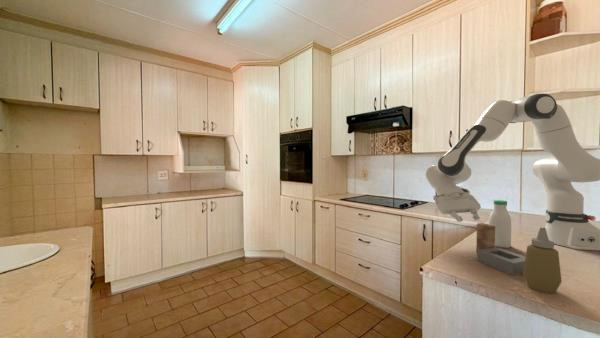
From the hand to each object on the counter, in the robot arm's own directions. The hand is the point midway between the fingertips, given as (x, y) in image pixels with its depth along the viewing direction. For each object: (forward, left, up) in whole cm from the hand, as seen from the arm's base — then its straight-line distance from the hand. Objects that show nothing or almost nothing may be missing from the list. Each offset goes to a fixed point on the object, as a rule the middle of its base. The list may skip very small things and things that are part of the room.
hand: (469, 220), depth 103 cm
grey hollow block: (-7, +15, -12) cm, 21 cm away
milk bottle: (-13, -10, -12) cm, 21 cm away
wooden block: (-4, +5, -12) cm, 14 cm away
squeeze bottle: (-11, +30, -12) cm, 35 cm away
